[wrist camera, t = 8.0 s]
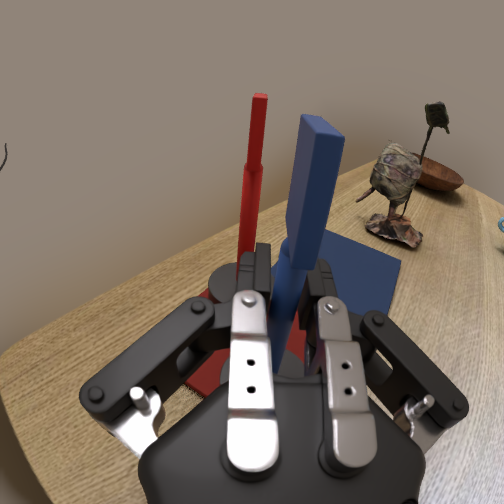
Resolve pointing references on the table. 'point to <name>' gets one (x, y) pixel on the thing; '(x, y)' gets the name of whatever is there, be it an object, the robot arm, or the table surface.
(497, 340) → the table surface
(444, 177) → the bowl
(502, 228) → the teapot
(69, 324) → the table surface
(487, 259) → the table surface
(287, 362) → the blue signpost
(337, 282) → the blue mat
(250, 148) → the red paddle on stand
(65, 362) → the table surface
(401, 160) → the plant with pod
